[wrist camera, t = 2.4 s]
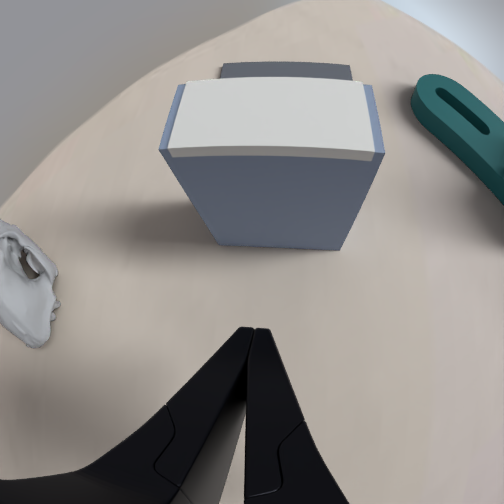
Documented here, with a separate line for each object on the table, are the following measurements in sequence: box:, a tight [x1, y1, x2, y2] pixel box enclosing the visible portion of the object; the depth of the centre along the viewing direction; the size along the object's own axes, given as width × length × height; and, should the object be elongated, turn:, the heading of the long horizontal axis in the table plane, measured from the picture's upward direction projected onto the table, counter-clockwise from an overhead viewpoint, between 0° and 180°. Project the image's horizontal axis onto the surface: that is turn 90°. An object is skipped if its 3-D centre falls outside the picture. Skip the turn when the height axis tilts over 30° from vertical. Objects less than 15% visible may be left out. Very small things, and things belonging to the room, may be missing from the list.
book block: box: [159, 77, 385, 250], centre depth 16 cm, size 4×8×11 cm, turn 85°
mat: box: [220, 62, 353, 81], centre depth 24 cm, size 14×12×1 cm
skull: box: [0, 219, 61, 348], centre depth 19 cm, size 8×9×12 cm
